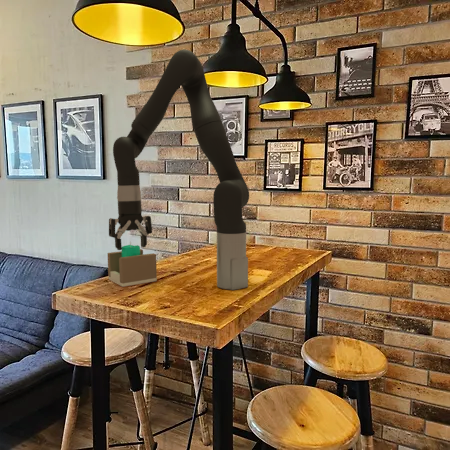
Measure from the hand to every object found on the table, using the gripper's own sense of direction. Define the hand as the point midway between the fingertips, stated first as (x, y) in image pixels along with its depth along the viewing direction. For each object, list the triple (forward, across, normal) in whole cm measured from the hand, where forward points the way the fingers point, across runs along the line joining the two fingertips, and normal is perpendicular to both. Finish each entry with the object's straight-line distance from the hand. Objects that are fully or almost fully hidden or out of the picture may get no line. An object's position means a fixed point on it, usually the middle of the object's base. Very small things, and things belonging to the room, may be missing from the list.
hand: (131, 248), depth 137 cm
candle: (+10, 0, 0) cm, 10 cm away
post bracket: (+11, 0, 0) cm, 11 cm away
